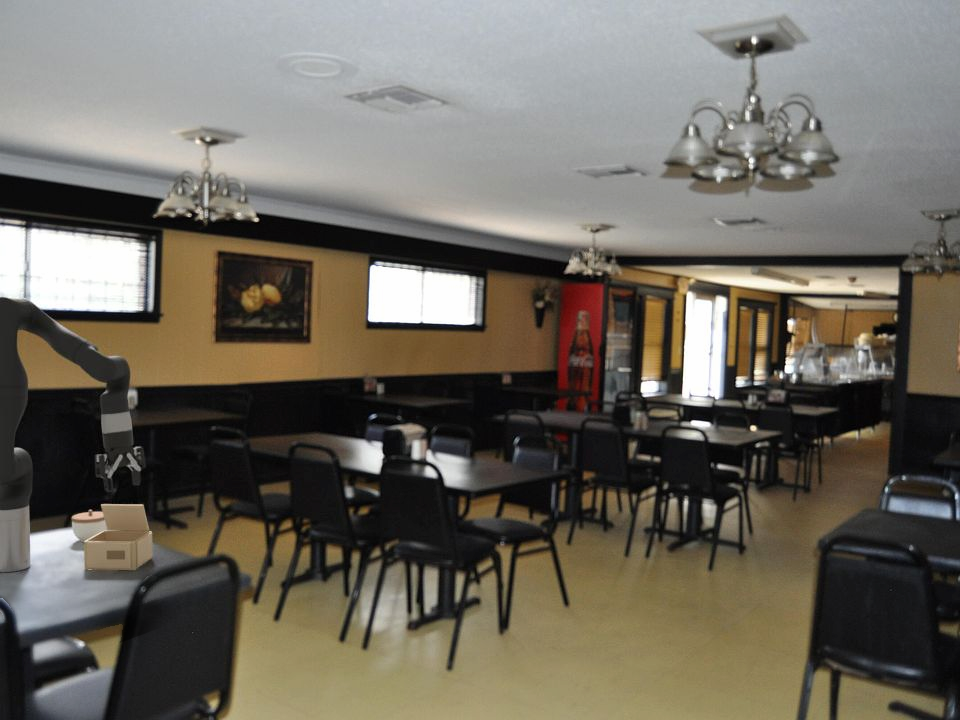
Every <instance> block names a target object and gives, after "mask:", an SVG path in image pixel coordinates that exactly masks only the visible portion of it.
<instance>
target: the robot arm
mask: <svg viewBox="0 0 960 720" xmlns="http://www.w3.org/2000/svg"><path fill="white" fill-rule="evenodd" d="M19 331H24V332H27V333H29V334H33V335H35V336H37V337H39V338H40V339H42V340H44V341H45V342H46V343H47V344H48V345H49V346H50V348H51V349H53V351H54V352H56V353H57V354H58V355H59V356H60V357H62V358H64V359H66V360H68V361H69V362H71V363H73V364H75V365H76V366H79V367H80V369H82V370H83V372H85V373H86V374H87V375H88V376H89V377H91V378H93V380H95V381H97V382H100V383H102V384H103V383H104V384H105V391H104V392H103V393H102V394H100V397H99V398H100V399H99V402H100V412H101V423H100V424H101V432H102V441H103V448H104V449H105V450H104V451H105V452H104V454H95V455H94V468H95V470H94V471H95V477H96V478H101V479H103V486H104V487H103V488H104V491H105V492H106V493H113V492H114V480H113V477H112V476H113V474H114V472H115V471H116V470H117V469H118V468H121V467H128V468H129V469H130V471H131V481H132V486H140V485H141V483H142V482H141V481H142V479H141V478H142V477H141V471H142V470H143V469H145V468H146V467H147V465H146V464H147V463H146V458H145V451H144V447H143V446H135V447H133V445H134V434H133V425H132V424H133V423H132V417H131V414H130V413H131V412H130V405H129V398H128V395H129V390H130V382H131V369H130V365H129V362H128V361H127V360H126V359H125V358H124V357H122V356H121V355H111V356H110V355H109V356H106V355H104V354H103V353H101V352H100V351H99V348H98V347H97V346H96V345H95V344H94V343H92V342H91V341H89V340H87V339H86V338H84V337H81V336H80V335H78V334H76V333H75V332H73V331H71V330H70V329H69V328H66V327H65V326H64V325H62V324H61V323H58V322H57V321H56V320H55V319H53V318H52V317H50V316H49V315H48V314H47V313H45V312H44V311H43V310H42V309H41V308H40V307H39V306H37V305H36V303H35V304H34V302H32V301H31V300H29V298H25V297H22V296H0V573H12V572H18V571H22V570H25V569H28V568H30V567H31V565H32V564H31V563H32V562H31V532H30V531H31V529H30V527H31V526H30V525H31V524H30V522H31V521H30V499H31V496H32V492H33V473H34V472H33V461H32V457H31V455H30V454H29V452H28V451H27V450H26V449H23V448H21V447H15V439H16V438H15V437H16V432H17V430H18V427H19V424H20V422H21V419H22V417H23V415H24V413H25V410H26V407H27V405H28V399H29V396H28V395H29V394H28V393H29V379H28V374H27V371H26V368H25V367H24V364H23V362H22V359H21V357H20V355H19V350H18V333H19ZM134 457H135V458H134Z"/></svg>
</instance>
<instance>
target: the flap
mask: <svg viewBox="0 0 960 720" xmlns="http://www.w3.org/2000/svg"><path fill="white" fill-rule="evenodd" d="M100 506H101V507H100V508H101V512H103V515H104V519H105V523H106V527H107V531H150V528H149V523H148V519H147V514H146V510H145V506H144V504H141V503H140V504H133V503H131V504H129V503H128V504H126V503H125V504H124V503H123V504H119V503H118V504H117V503H116V504H115V503H113V504H112V503H103V504H102V503H101V504H100Z"/></svg>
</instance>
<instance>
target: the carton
mask: <svg viewBox="0 0 960 720" xmlns="http://www.w3.org/2000/svg"><path fill="white" fill-rule="evenodd" d="M152 559H153V532H152V530H149V531H148V530H107V531H102V532H100V533H98V534H96V535H94V536H93V537H91V538H89V539H87V540H85V541H84V542H83V561H84V570H85V569H92V570H91V571H118V570H135V571H136V569H137V568H138V569H139V568H140V566H141V567H142V566H144V565H145V564H146V563H148V562H149V561H150V560H152ZM143 564H144V565H143ZM95 569H96V570H95ZM138 569H137V570H138Z"/></svg>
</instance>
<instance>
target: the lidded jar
mask: <svg viewBox="0 0 960 720" xmlns="http://www.w3.org/2000/svg"><path fill="white" fill-rule="evenodd" d="M71 527H72V531H73V535H74V536H75V538H76V539H78V540H79V541H80V542H81V541H82V542H81V543H84V541H85V540H87V539H89V538H91V537H93V536H94V535H96V534H98V533H100V532H102V531H108V530H107V527H106V523H105V519H104V515H103V511H93V510H92V509H88V512H81V513H77V514H73V515H72V516H71Z"/></svg>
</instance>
